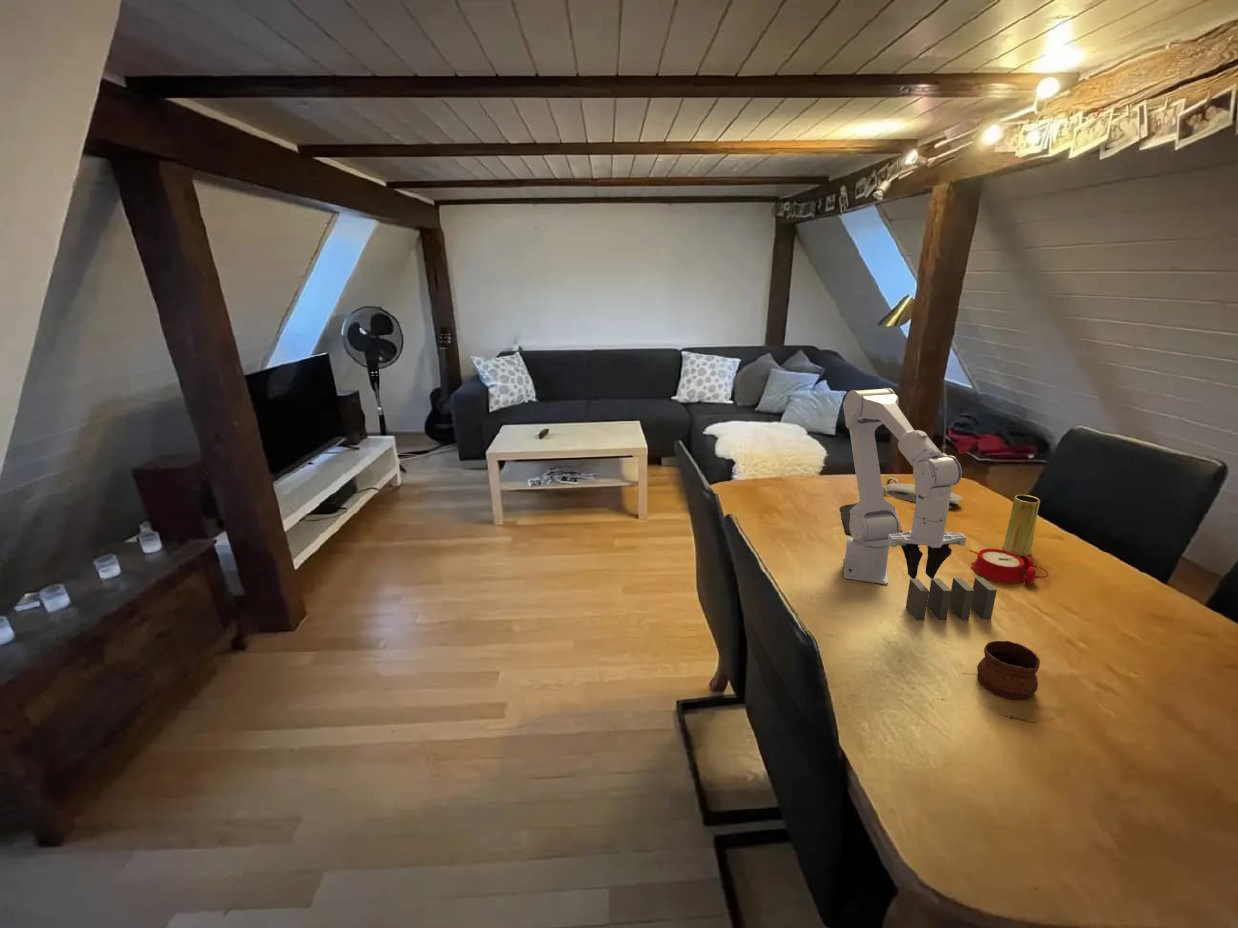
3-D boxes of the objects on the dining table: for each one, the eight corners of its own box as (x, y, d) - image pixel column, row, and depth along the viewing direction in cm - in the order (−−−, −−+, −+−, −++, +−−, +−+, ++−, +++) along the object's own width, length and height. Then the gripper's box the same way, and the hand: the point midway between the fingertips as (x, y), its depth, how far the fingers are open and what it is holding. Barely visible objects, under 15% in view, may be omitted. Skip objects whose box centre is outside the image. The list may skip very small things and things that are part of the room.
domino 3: (982, 619, 118) (988, 590, 116) (969, 606, 123) (974, 577, 120) (990, 619, 118) (997, 589, 116) (976, 606, 123) (982, 577, 120)
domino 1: (938, 620, 118) (943, 590, 116) (926, 606, 123) (931, 578, 121) (946, 620, 118) (951, 590, 116) (934, 606, 123) (939, 577, 121)
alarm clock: (967, 544, 141) (1042, 543, 134) (970, 568, 143) (1044, 567, 135) (970, 563, 133) (1050, 563, 125) (973, 588, 134) (1052, 589, 127)
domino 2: (960, 620, 118) (966, 590, 116) (948, 606, 123) (953, 577, 120) (968, 619, 118) (974, 590, 116) (955, 606, 123) (960, 577, 120)
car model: (886, 485, 191) (887, 470, 190) (966, 504, 174) (969, 489, 173) (871, 494, 184) (872, 479, 183) (953, 515, 167) (956, 499, 166)
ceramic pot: (1075, 739, 88) (1084, 701, 86) (943, 700, 97) (949, 665, 95) (1061, 673, 103) (1069, 639, 101) (948, 644, 112) (954, 613, 110)
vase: (1004, 554, 143) (1015, 501, 139) (999, 543, 149) (1010, 492, 144) (1033, 557, 141) (1045, 504, 137) (1027, 547, 147) (1038, 495, 142)
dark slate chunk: (891, 511, 171) (893, 496, 170) (906, 544, 151) (909, 528, 150) (836, 507, 175) (838, 493, 173) (845, 539, 155) (846, 523, 153)
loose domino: (916, 620, 118) (921, 591, 116) (905, 607, 123) (910, 578, 121) (924, 620, 118) (929, 591, 116) (913, 607, 123) (917, 578, 121)
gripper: (902, 524, 110) (893, 586, 114) (979, 523, 109) (967, 585, 114) (886, 510, 116) (878, 569, 121) (959, 508, 116) (948, 568, 120)
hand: (920, 576), depth 118 cm, fingers open, 3 cm apart
